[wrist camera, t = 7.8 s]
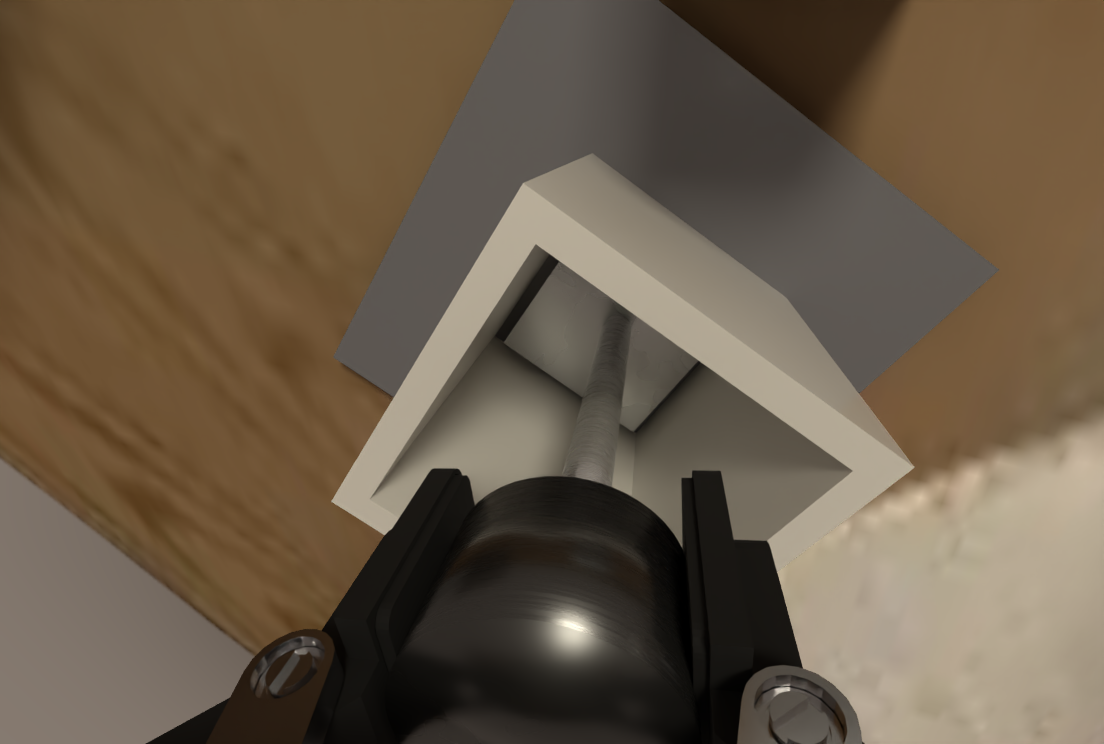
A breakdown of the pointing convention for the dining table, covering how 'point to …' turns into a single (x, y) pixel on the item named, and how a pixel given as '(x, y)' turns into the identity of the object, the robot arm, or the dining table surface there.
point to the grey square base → (649, 279)
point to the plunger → (561, 568)
